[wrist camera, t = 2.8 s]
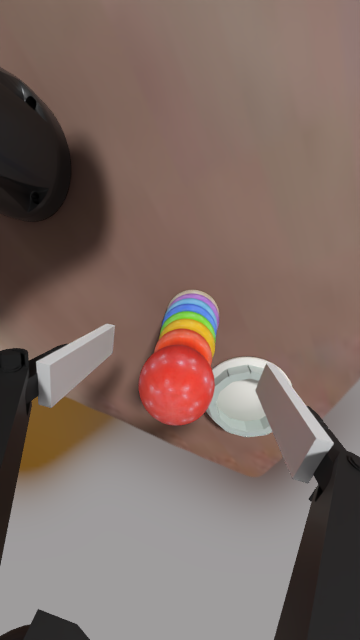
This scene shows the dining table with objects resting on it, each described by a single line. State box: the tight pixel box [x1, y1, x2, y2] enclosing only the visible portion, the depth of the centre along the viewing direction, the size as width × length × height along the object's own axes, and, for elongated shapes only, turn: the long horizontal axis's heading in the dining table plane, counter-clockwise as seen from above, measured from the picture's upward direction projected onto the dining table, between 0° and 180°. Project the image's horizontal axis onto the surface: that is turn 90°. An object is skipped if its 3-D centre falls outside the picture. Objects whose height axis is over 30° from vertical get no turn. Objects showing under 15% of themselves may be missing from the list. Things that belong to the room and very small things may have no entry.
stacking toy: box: [139, 290, 219, 425], centre depth 18 cm, size 8×8×19 cm
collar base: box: [206, 356, 292, 437], centre depth 29 cm, size 15×15×3 cm
